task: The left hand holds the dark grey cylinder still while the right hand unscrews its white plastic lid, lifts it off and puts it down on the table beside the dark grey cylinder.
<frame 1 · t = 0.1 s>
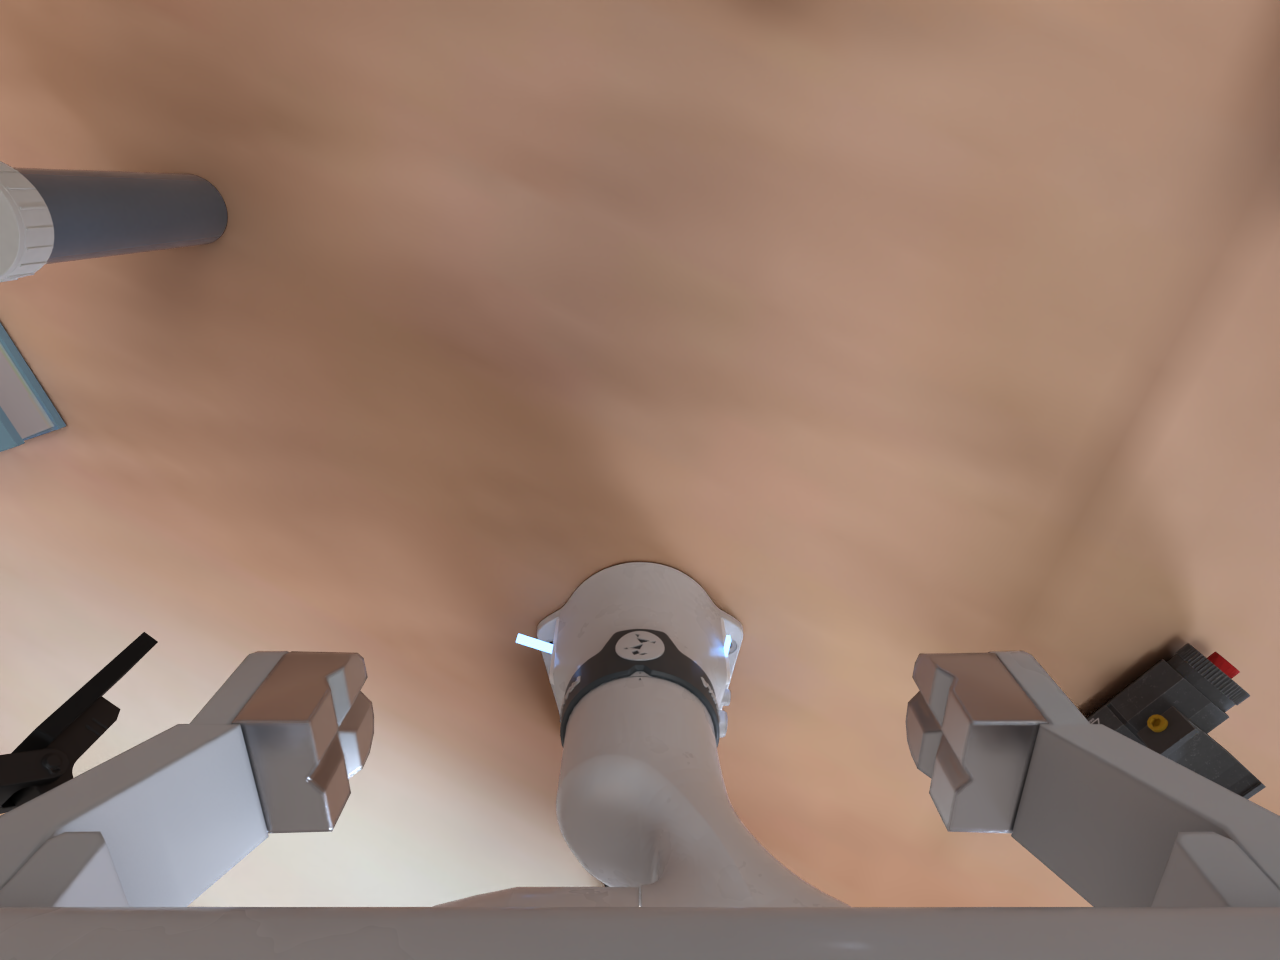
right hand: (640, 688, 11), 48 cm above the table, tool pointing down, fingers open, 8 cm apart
laser sight: (1102, 716, 70), on the table
dark grey cylinder: (193, 209, 53), on the table
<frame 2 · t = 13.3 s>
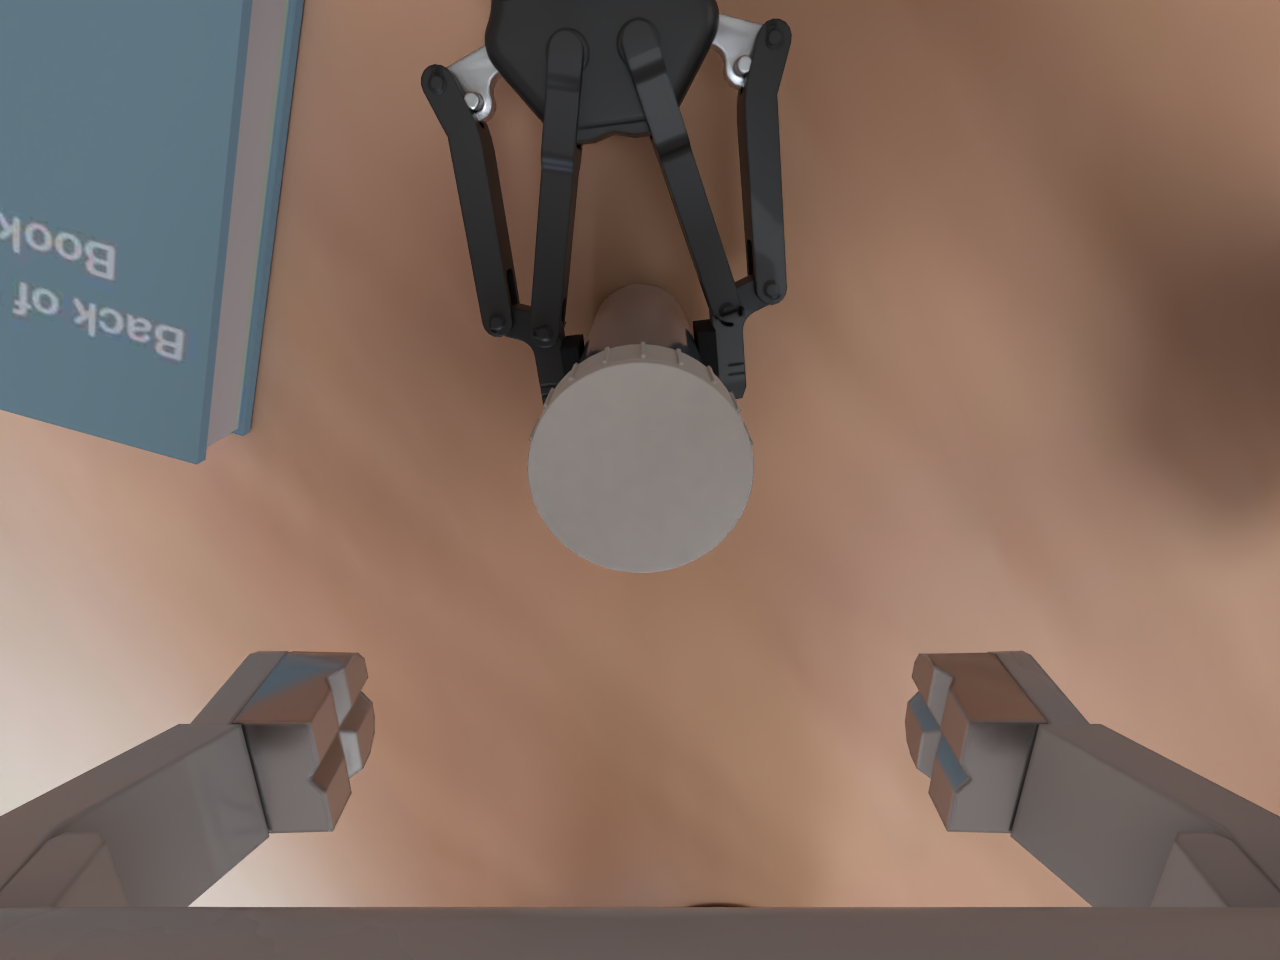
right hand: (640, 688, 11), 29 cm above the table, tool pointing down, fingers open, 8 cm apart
left hand: (654, 474, 33), fingers closed on dark grey cylinder, 5 cm apart
lid: (640, 469, 19), point 20 cm above the table, screwed on, not yet turned
book: (107, 164, 34), on the table
dark grey cylinder: (640, 332, 37), on the table, touching left hand
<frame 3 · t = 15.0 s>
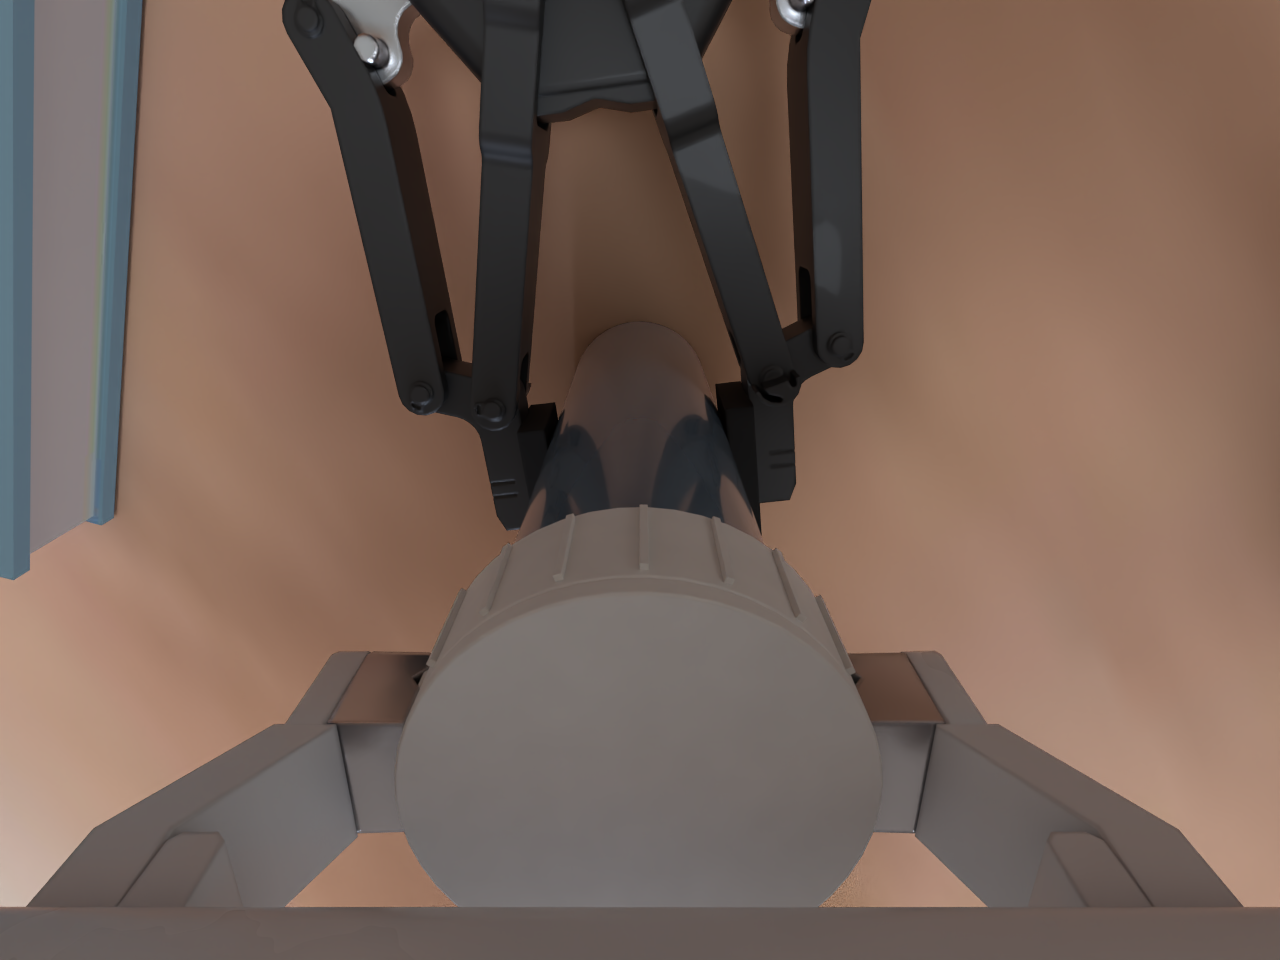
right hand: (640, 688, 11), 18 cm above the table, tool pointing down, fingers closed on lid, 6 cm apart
left hand: (658, 601, 23), fingers closed on dark grey cylinder, 5 cm apart
lid: (638, 782, 9), point 20 cm above the table, screwed on, not yet turned, touching right hand
dark grey cylinder: (639, 386, 27), on the table, touching left hand
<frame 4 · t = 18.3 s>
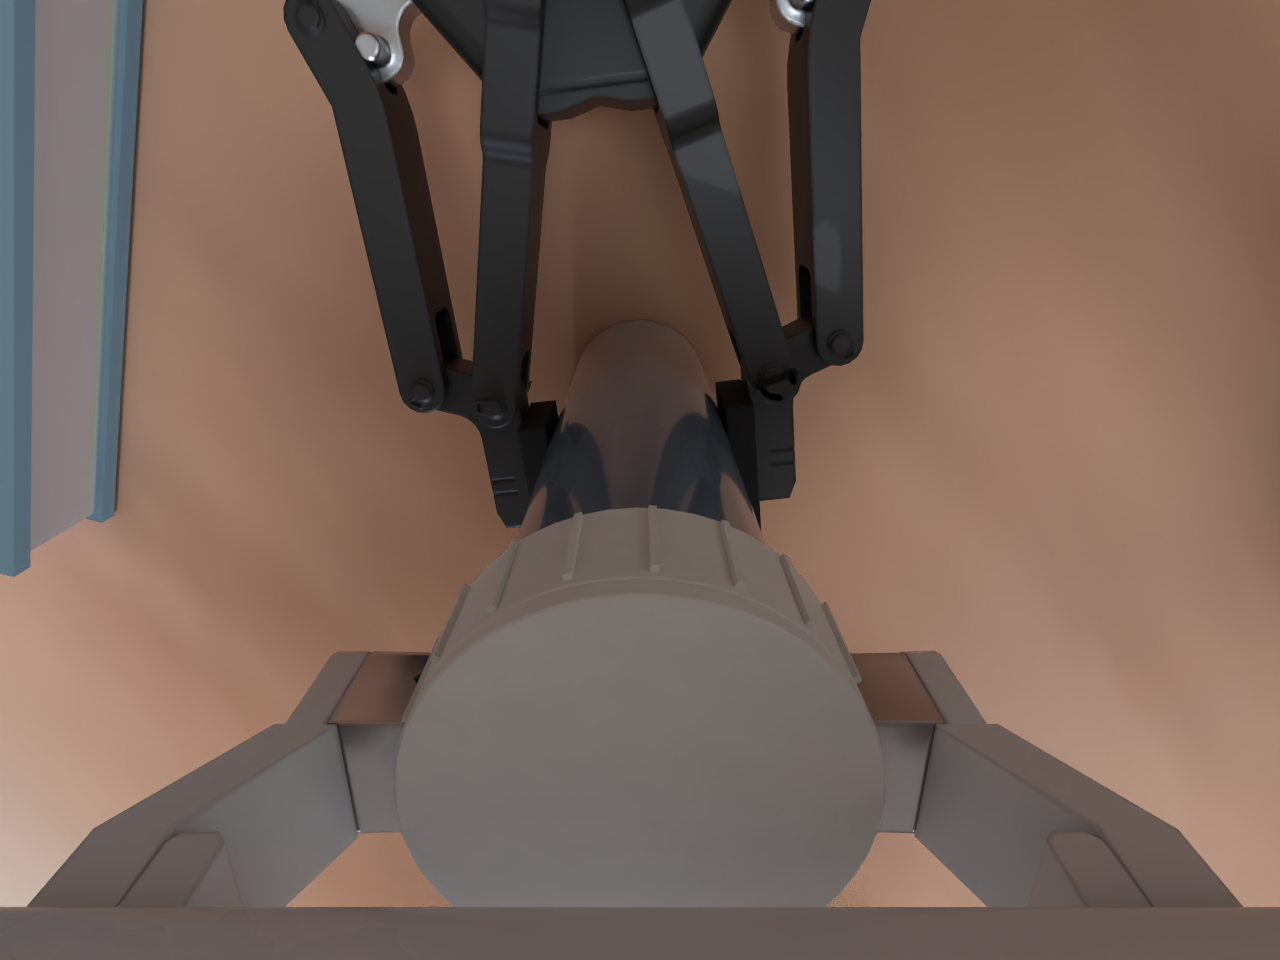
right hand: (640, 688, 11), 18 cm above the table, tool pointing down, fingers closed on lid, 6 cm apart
left hand: (658, 598, 23), fingers closed on dark grey cylinder, 5 cm apart
lid: (639, 785, 9), point 20 cm above the table, turned 93° so far, risen 0.1 cm, still on its thread, touching right hand
dark grey cylinder: (639, 384, 27), on the table, touching left hand
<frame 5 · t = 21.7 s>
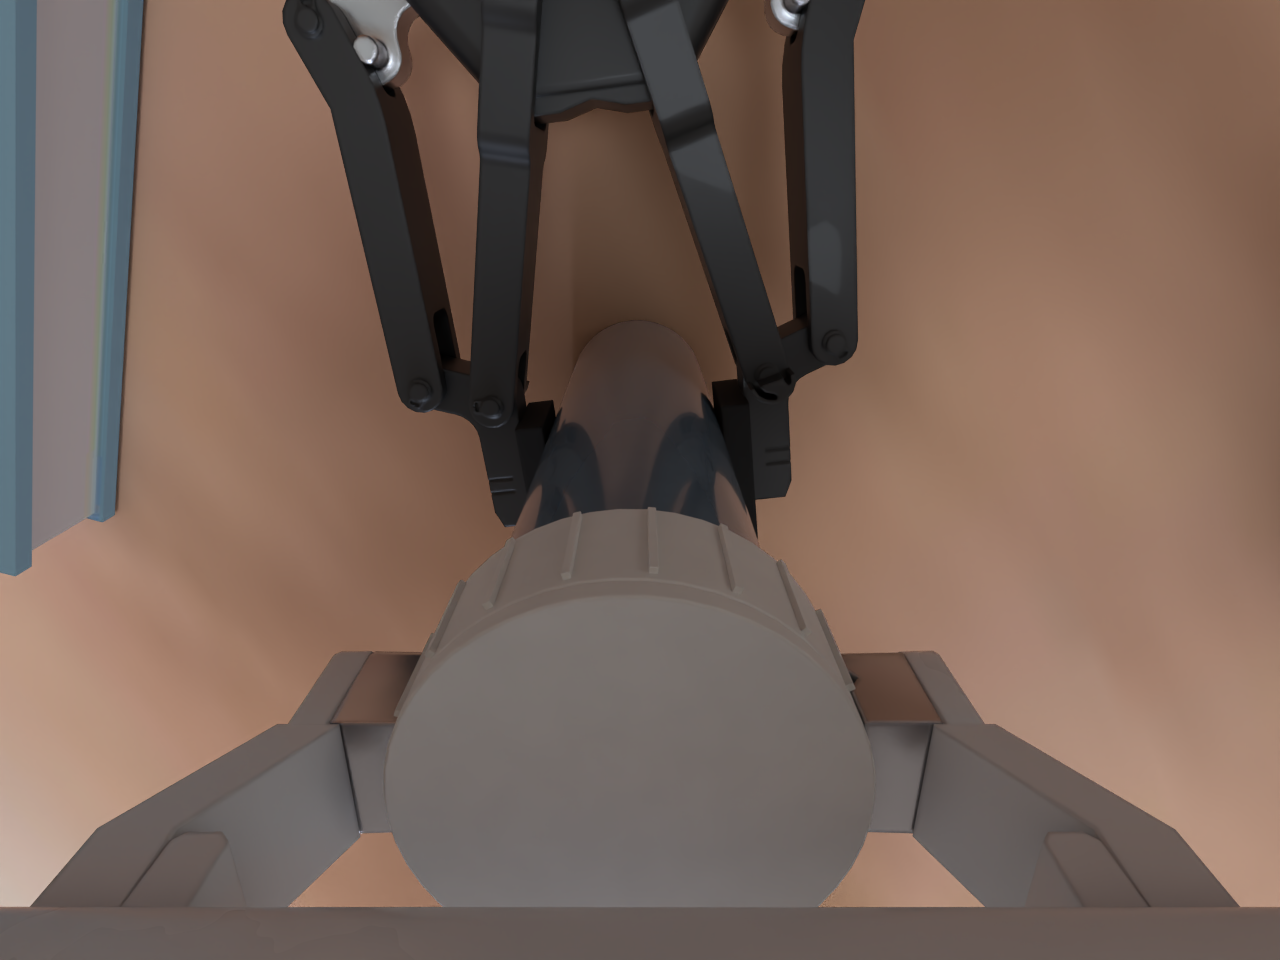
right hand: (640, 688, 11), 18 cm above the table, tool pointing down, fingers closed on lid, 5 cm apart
left hand: (655, 597, 23), fingers closed on dark grey cylinder, 5 cm apart
lid: (629, 786, 9), point 20 cm above the table, turned 185° so far, risen 0.3 cm, still on its thread, touching right hand
dark grey cylinder: (637, 385, 27), on the table, touching left hand
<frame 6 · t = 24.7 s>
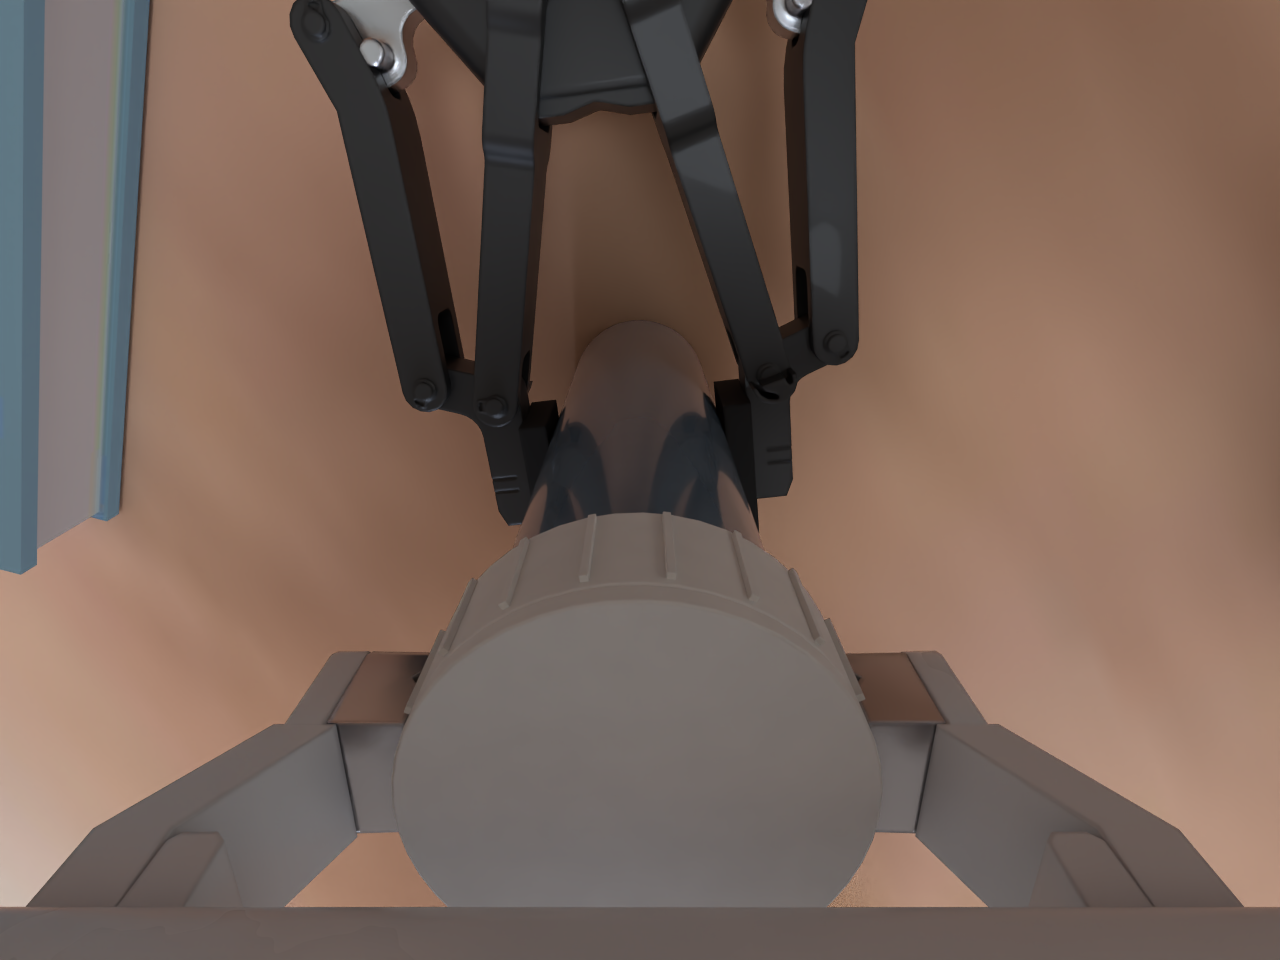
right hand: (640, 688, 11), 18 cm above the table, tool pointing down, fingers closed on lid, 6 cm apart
left hand: (658, 595, 23), fingers closed on dark grey cylinder, 5 cm apart
lid: (637, 789, 9), point 20 cm above the table, turned 278° so far, risen 0.4 cm, still on its thread, touching right hand
dark grey cylinder: (639, 384, 28), on the table, touching left hand
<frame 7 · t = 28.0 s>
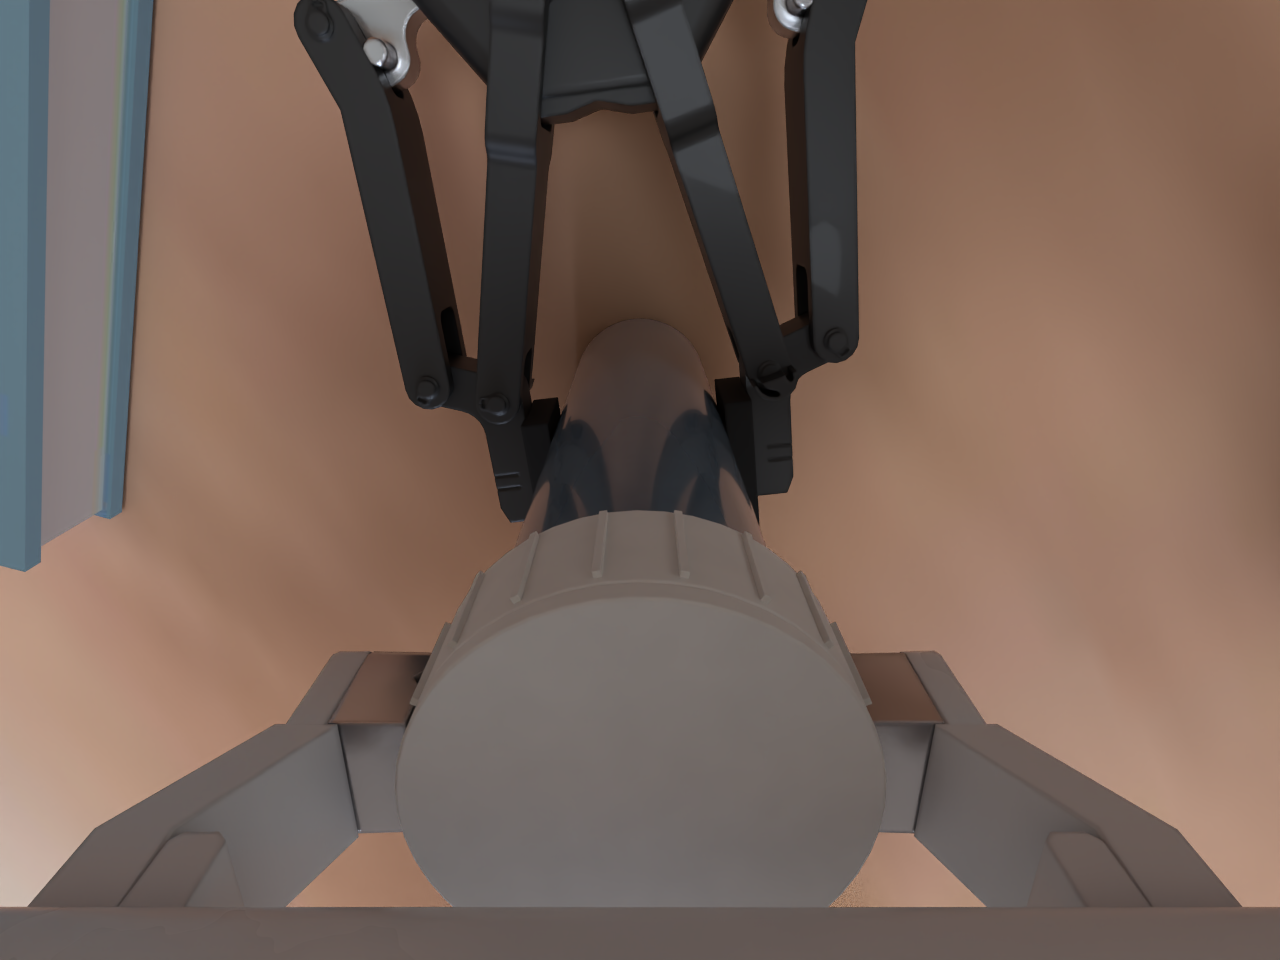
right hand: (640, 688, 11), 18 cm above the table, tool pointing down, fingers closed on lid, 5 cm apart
left hand: (659, 592, 23), fingers closed on dark grey cylinder, 5 cm apart
lid: (640, 787, 9), point 20 cm above the table, turned 371° so far, risen 0.6 cm, still on its thread, touching right hand
dark grey cylinder: (640, 382, 28), on the table, touching left hand
when the right hand's fingers open (2 cm above the table, at t = 35.2 s): lid drops 2 cm, point 2 cm above the table.
when the left hand's fingers open (7 cm above the table, at t = 36.1 s): dark grey cylinder stays where it is, on the table.
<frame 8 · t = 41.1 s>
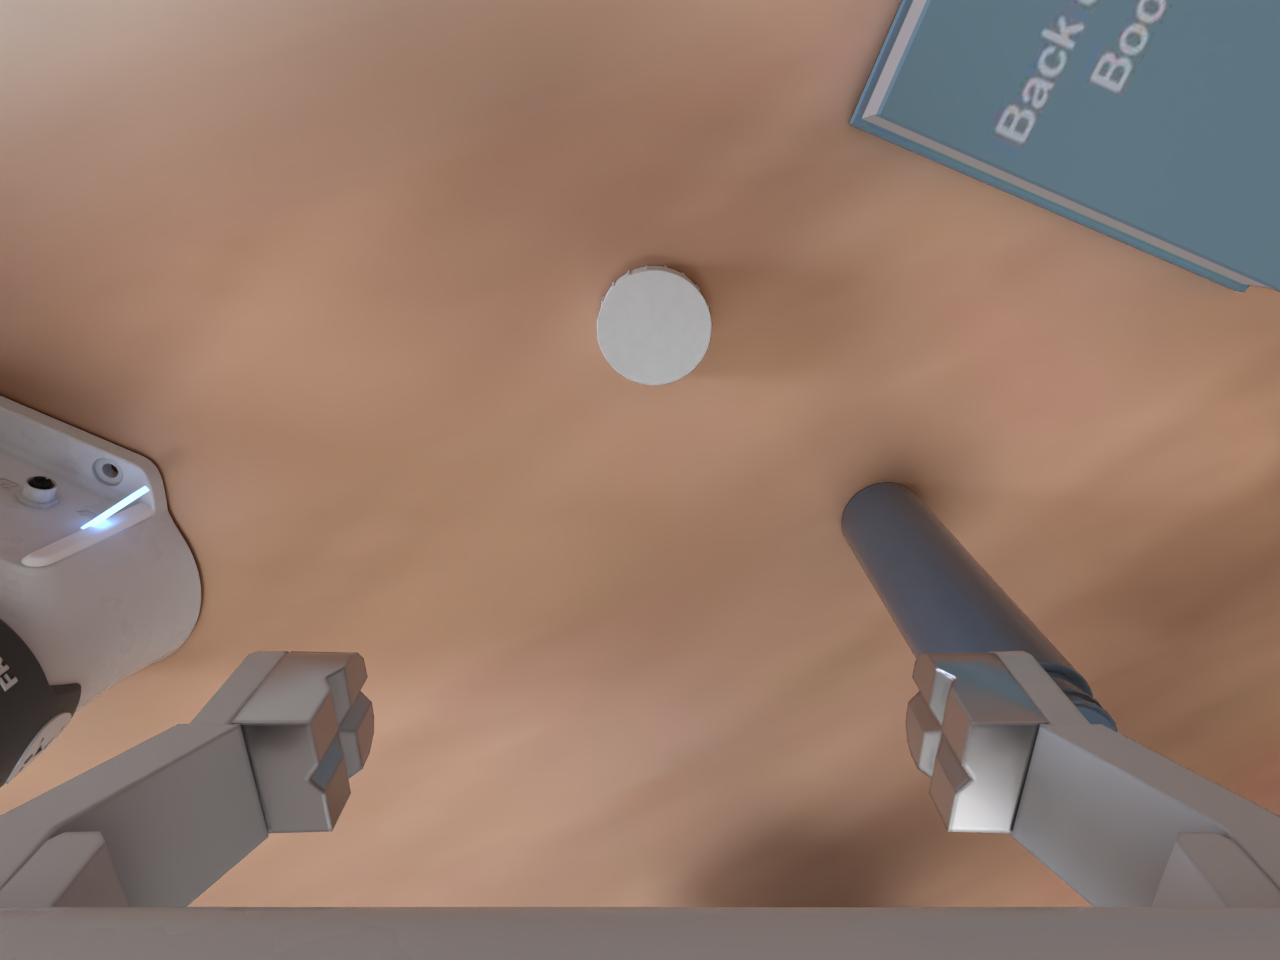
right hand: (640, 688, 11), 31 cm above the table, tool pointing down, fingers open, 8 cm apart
lid: (654, 328, 37), point 2 cm above the table, off its thread
book: (1140, 40, 34), on the table
dark grey cylinder: (882, 519, 43), on the table
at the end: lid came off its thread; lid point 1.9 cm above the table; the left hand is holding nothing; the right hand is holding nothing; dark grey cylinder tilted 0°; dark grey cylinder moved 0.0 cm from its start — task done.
